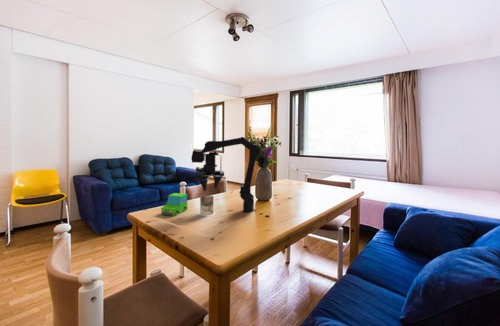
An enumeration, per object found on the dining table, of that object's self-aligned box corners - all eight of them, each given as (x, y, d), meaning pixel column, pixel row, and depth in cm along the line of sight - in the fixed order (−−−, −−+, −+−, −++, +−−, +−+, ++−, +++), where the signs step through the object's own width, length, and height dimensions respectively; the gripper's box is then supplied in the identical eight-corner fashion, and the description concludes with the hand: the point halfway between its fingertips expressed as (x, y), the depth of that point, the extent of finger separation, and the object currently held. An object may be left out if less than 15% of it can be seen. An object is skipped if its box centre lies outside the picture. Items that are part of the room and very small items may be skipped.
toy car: (158, 216, 127) (158, 198, 126) (173, 209, 139) (173, 192, 138) (175, 218, 124) (175, 200, 123) (188, 211, 136) (188, 194, 135)
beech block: (206, 211, 134) (206, 203, 133) (213, 213, 131) (213, 204, 130) (200, 214, 129) (200, 205, 129) (206, 215, 127) (206, 206, 126)
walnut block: (213, 204, 130) (213, 195, 130) (207, 206, 126) (207, 197, 126) (206, 203, 133) (206, 194, 132) (200, 205, 129) (200, 196, 128)
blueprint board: (207, 209, 139) (207, 208, 139) (220, 213, 134) (220, 211, 134) (189, 216, 128) (189, 214, 128) (202, 220, 122) (202, 218, 122)
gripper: (211, 160, 147) (211, 185, 149) (188, 163, 132) (188, 190, 133) (224, 162, 141) (224, 187, 143) (202, 164, 126) (202, 193, 127)
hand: (210, 189), depth 137 cm, fingers open, 9 cm apart
